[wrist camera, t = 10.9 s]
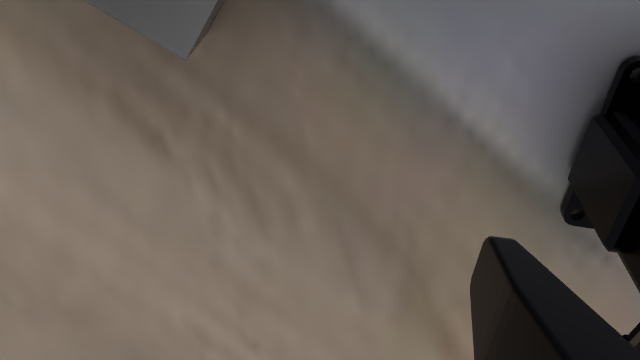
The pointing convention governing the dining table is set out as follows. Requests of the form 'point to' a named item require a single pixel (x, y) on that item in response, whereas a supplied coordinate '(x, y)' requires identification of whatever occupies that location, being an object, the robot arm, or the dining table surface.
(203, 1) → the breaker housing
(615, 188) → the robot arm
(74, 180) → the dining table surface
